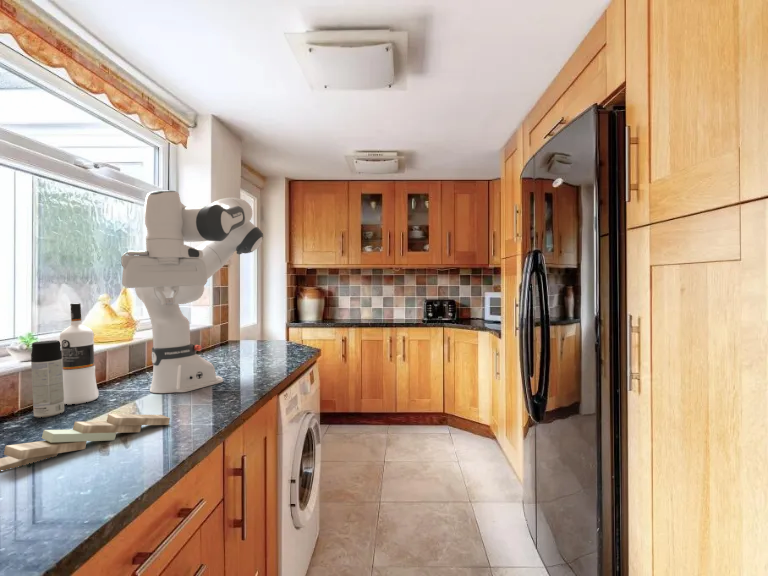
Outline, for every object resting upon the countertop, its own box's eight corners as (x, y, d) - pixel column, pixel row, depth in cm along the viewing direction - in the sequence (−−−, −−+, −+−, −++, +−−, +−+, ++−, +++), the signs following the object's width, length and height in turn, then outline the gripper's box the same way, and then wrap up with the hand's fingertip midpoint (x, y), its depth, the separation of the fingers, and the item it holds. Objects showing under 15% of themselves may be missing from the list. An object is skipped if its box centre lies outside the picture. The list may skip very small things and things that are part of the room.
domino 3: (105, 428, 97) (43, 429, 87) (116, 432, 94) (53, 434, 84) (104, 436, 96) (41, 438, 87) (114, 440, 93) (50, 442, 84)
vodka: (105, 397, 131) (100, 301, 130) (74, 406, 122) (69, 303, 122) (85, 395, 134) (80, 302, 134) (54, 404, 126) (48, 304, 125)
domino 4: (131, 421, 101) (74, 421, 92) (141, 425, 98) (84, 425, 89) (129, 428, 101) (72, 429, 91) (139, 432, 98) (82, 433, 89)
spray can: (62, 408, 120) (59, 339, 120) (66, 413, 115) (62, 341, 115) (32, 414, 116) (28, 342, 115) (35, 419, 111) (31, 344, 110)
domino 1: (50, 445, 89) (-28, 465, 80) (57, 450, 86) (-24, 473, 77) (51, 452, 89) (-28, 474, 80) (57, 458, 86) (-24, 481, 77)
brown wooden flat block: (72, 437, 91) (5, 445, 80) (86, 441, 89) (20, 450, 78) (70, 444, 91) (3, 454, 80) (85, 448, 89) (18, 459, 78)
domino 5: (161, 414, 106) (108, 414, 97) (170, 418, 103) (115, 417, 94) (160, 421, 106) (106, 421, 97) (168, 424, 102) (113, 425, 93)
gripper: (125, 249, 100) (128, 307, 101) (208, 251, 116) (211, 301, 116) (116, 251, 105) (119, 307, 105) (198, 253, 120) (200, 301, 120)
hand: (168, 304), depth 111 cm, fingers closed
